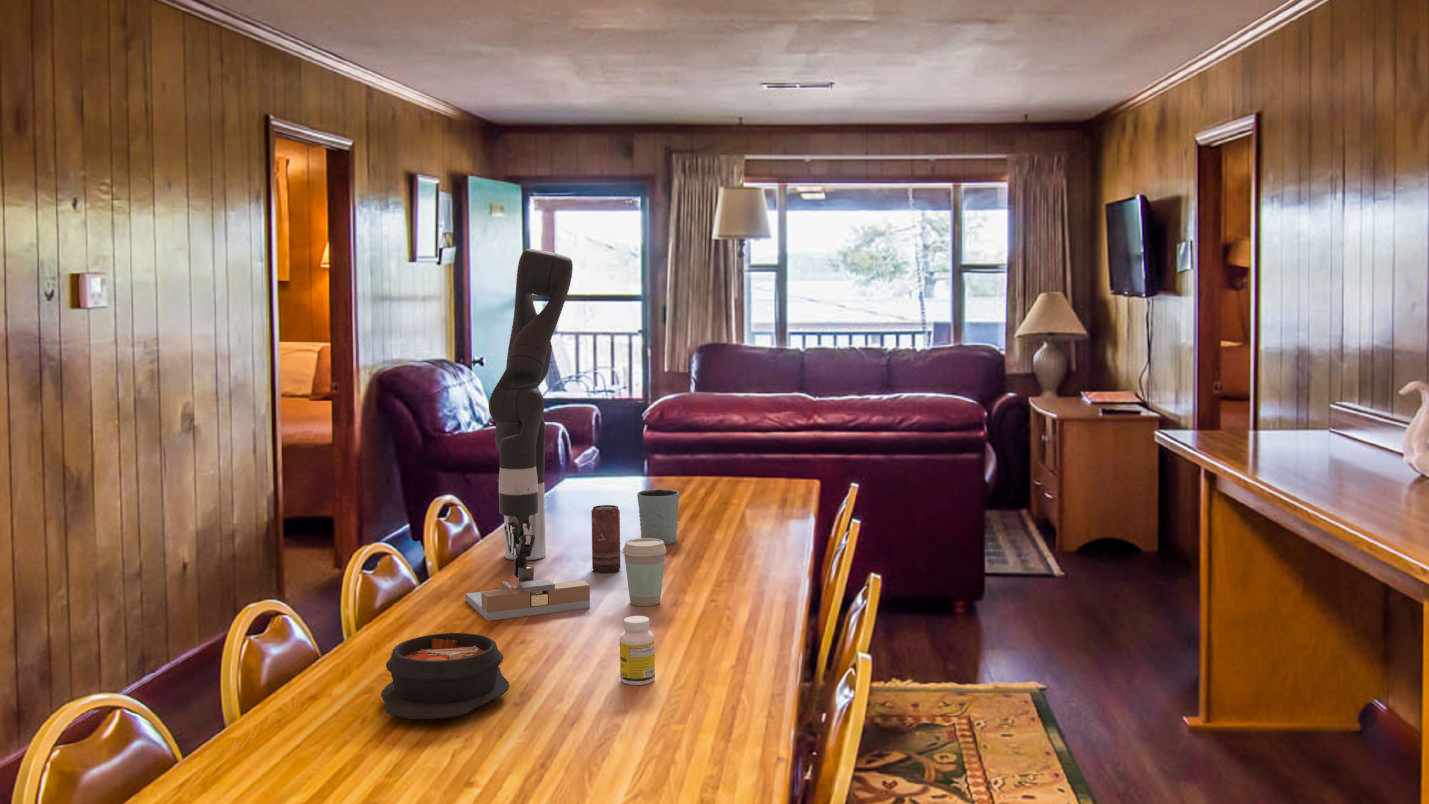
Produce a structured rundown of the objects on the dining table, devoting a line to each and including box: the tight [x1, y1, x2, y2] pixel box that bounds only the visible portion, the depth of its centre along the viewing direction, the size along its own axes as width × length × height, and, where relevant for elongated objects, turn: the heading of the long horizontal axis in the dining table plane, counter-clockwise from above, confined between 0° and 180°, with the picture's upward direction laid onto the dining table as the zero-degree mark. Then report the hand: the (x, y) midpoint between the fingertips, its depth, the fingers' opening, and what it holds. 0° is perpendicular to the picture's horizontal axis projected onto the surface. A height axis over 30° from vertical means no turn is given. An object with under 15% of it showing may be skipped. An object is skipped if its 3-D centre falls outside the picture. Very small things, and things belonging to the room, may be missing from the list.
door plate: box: [465, 578, 591, 622], centre depth 233 cm, size 16×20×6 cm
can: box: [591, 504, 621, 574], centre depth 261 cm, size 6×6×14 cm
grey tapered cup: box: [636, 488, 680, 545], centre depth 291 cm, size 10×10×12 cm
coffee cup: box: [622, 537, 667, 607], centre depth 234 cm, size 8×8×12 cm
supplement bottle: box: [619, 615, 656, 686], centre depth 187 cm, size 5×5×10 cm
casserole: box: [380, 632, 510, 720], centre depth 178 cm, size 25×19×8 cm
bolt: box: [515, 565, 548, 607], centre depth 230 cm, size 10×3×6 cm, turn 26°
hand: (520, 576), depth 237 cm, fingers closed
